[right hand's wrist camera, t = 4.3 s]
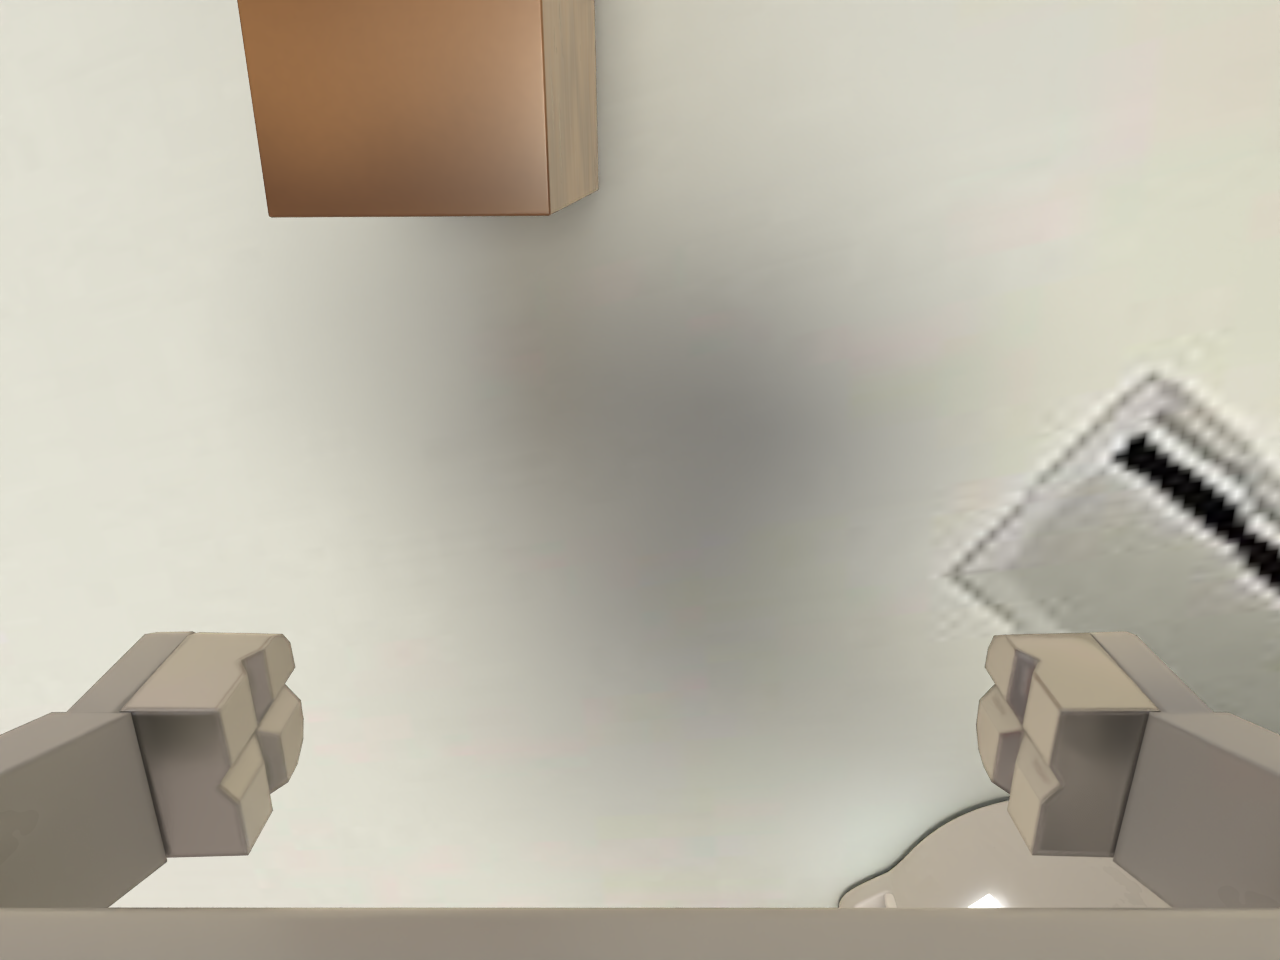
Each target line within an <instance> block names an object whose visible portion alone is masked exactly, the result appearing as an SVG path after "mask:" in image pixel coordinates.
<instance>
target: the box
mask: <svg viewBox="0 0 1280 960" xmlns="http://www.w3.org/2000/svg"><path fill="white" fill-rule="evenodd" d="M237 1H238V8H239V15H240V22H241V29H242V36H243V42H244V49H245V56H246V63H247V70H248V77H249V83H250V90H251V97H252V104H253V111H254V118H255V124H256V131H257V138H258V145H259V152H260V159H261V165H262V172H263V179H264V186H265V193H266V200H267V206H268V213H269V216H270V217H432V216H549V215H551V214H553V213H555V212H557V211H559V210H561V209H563V208H565V207H567V206H569V205H571V204H572V203H574V202H576V201H578V200H580V199H582V198H584V197H586V196H588V195H590V194H592V193H594V192H595V191H597V190H598V189H599V186H598V141H597V97H596V53H595V8H594V0H237Z"/></svg>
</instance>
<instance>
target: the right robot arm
mask: <svg viewBox="0 0 1280 960" xmlns="http://www.w3.org/2000/svg"><path fill="white" fill-rule="evenodd" d="M294 669H295V663H294V658H293V653H292V648H291V643H290V641H289V640H288V639H287V638H286V637H285V636H284V635H283V634H264V633H213V632H198V633H195V632H155V633H149V634H145V635H144V636H143V637H142V638H140V639H139V640H138V641H137V642H136V643H135V644H134V645H133V646H132V647H131V648H130V649H129V650H128V651H127V652H126V653H125V654H124V655H123V656H122V657H121V658H120V659H119V660H118V661H117V662H116V663H115V664H114V665H113V666H112V667H111V668H110V669H109V670H108V671H107V672H106V673H105V674H104V675H103V676H102V677H101V678H100V679H99V680H98V681H97V682H96V683H95V684H94V685H93V686H92V687H91V688H90V689H89V690H88V691H87V692H86V693H85V694H84V695H83V696H82V697H81V698H80V699H79V700H78V701H77V702H76V703H75V704H74V705H73V706H72V707H71V708H70V709H69V710H68V711H67V712H51V713H49V714H47V715H45V716H42V717H40V718H38V719H35V720H33V721H31V722H29V723H26V724H24V725H22V726H19V727H17V728H15V729H13V730H10V731H8V732H6V733H3V734H1V735H0V960H1280V735H1279V734H1276V733H1274V732H1272V731H1270V730H1267V729H1265V728H1263V727H1260V726H1258V725H1256V724H1254V723H1251V722H1249V721H1247V720H1245V719H1242V718H1240V717H1238V716H1235V715H1233V714H1231V713H1229V712H1213V711H1212V710H1211V709H1210V708H1209V707H1208V706H1207V705H1206V704H1205V703H1204V702H1203V701H1202V700H1201V699H1200V698H1199V697H1198V696H1197V695H1196V694H1195V693H1194V692H1193V691H1192V690H1191V689H1190V688H1189V687H1188V686H1187V685H1186V684H1185V683H1184V682H1183V681H1182V680H1181V679H1180V678H1179V677H1178V676H1177V675H1176V674H1175V673H1174V672H1173V671H1172V670H1171V669H1170V668H1169V667H1168V666H1167V665H1166V664H1165V663H1164V662H1163V661H1162V660H1161V659H1160V658H1159V657H1158V656H1157V655H1156V654H1155V653H1154V652H1153V651H1152V650H1151V649H1150V648H1149V647H1148V646H1147V645H1146V644H1145V643H1144V642H1143V641H1142V640H1141V639H1140V638H1139V637H1138V636H1137V635H1134V634H1131V633H1129V632H1126V631H1118V632H1093V633H1053V634H1012V635H995V636H993V639H992V641H991V643H990V645H989V647H988V651H987V657H986V662H985V669H986V670H987V672H988V673H989V675H990V676H991V678H992V680H993V681H994V683H995V684H994V686H993V687H992V688H991V689H990V690H989V691H988V692H987V693H986V694H985V695H984V696H983V697H982V698H981V699H980V700H979V706H978V714H977V722H976V730H977V741H978V750H979V753H980V756H981V760H982V763H983V766H984V768H985V770H986V772H987V774H988V776H989V778H990V780H991V782H992V783H994V784H995V785H997V786H998V787H1000V788H1002V789H1003V790H1005V791H1006V792H1008V793H1009V794H1010V797H1009V801H1003V802H999V803H995V804H991V805H988V806H985V807H981V808H979V809H976V810H973V811H970V812H968V813H966V814H964V815H961V816H959V817H957V818H955V819H953V820H951V821H949V822H948V823H946V824H944V825H943V826H941V827H940V828H938V829H937V830H935V831H934V832H932V833H931V834H930V835H928V836H927V837H926V838H924V839H923V840H922V841H921V842H920V843H919V844H918V845H917V846H916V847H915V848H914V849H913V850H912V851H911V852H910V853H909V854H908V855H907V856H906V857H905V858H904V859H903V860H902V861H901V862H900V863H898V864H897V865H896V866H895V867H894V868H892V869H891V870H890V871H888V872H887V873H884V874H882V875H880V876H877V877H875V878H873V879H871V880H869V881H867V882H864V883H863V884H861V885H859V886H857V887H855V888H853V889H852V890H850V891H849V892H847V893H846V894H845V895H844V896H843V897H842V899H841V901H840V903H839V908H108V907H109V906H111V905H112V904H113V903H115V902H116V901H117V900H118V899H120V898H121V897H122V896H124V895H125V894H126V893H127V892H129V891H130V890H131V889H133V888H134V887H135V886H136V885H138V884H139V883H140V882H142V881H143V880H144V879H145V878H147V877H148V876H149V875H151V874H152V873H153V872H154V871H156V870H157V869H158V868H160V867H161V866H162V865H163V864H165V863H166V862H167V858H169V857H204V856H240V855H249V853H250V851H251V849H252V847H253V846H254V844H255V842H256V840H257V838H258V837H259V835H260V833H261V831H262V829H263V827H264V826H265V824H266V822H267V820H268V818H269V817H270V815H271V813H272V811H273V808H272V802H271V797H270V794H271V793H272V792H274V791H275V790H277V789H278V788H280V787H282V786H283V785H285V784H286V783H288V782H289V780H290V778H291V776H292V774H293V772H294V770H295V768H296V766H297V764H298V760H299V756H300V751H301V747H302V742H303V712H302V705H301V700H300V699H299V698H298V697H297V696H296V695H295V694H294V693H293V692H292V691H291V690H290V689H289V688H288V687H287V686H286V684H285V683H286V681H287V680H288V678H289V676H290V675H291V673H292V672H293V670H294Z"/></svg>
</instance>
